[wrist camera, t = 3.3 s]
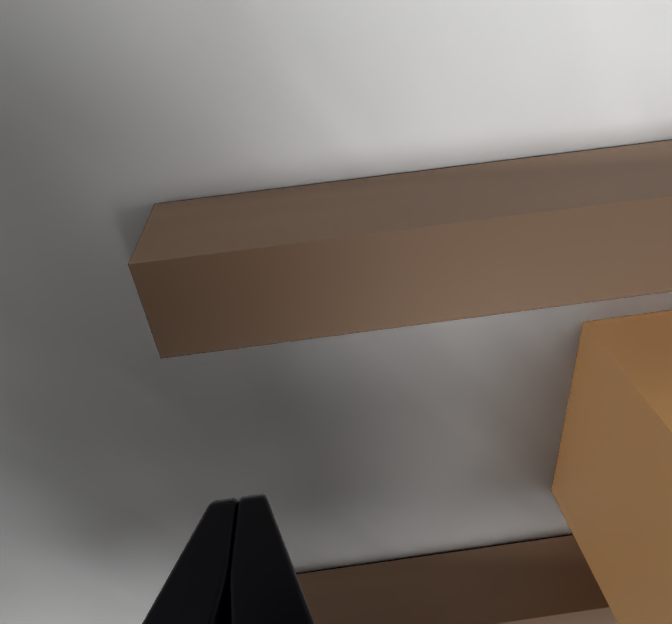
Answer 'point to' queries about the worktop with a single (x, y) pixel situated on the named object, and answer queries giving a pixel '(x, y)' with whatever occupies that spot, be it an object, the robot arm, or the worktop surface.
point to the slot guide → (418, 318)
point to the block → (622, 462)
